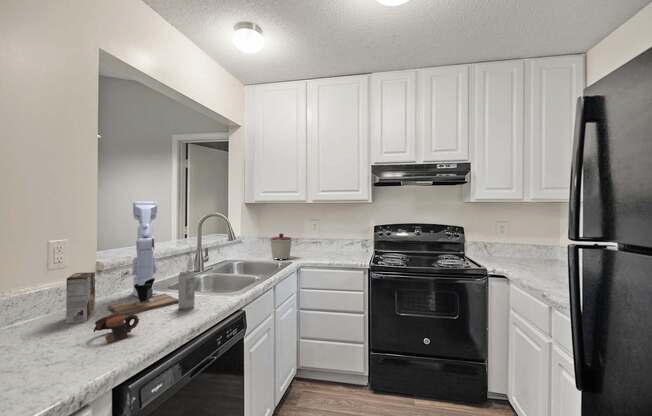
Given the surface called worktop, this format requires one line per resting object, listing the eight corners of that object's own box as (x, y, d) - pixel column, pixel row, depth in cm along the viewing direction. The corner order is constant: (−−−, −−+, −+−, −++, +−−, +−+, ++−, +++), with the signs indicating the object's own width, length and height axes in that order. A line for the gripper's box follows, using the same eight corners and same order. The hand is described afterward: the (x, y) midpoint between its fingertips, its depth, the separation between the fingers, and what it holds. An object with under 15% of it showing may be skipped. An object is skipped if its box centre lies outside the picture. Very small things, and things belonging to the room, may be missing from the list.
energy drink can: (187, 304, 128) (188, 269, 128) (197, 306, 125) (198, 270, 125) (175, 308, 123) (175, 271, 123) (185, 311, 120) (185, 273, 120)
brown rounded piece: (95, 348, 88) (88, 321, 91) (101, 350, 96) (95, 325, 98) (141, 329, 95) (134, 304, 97) (144, 333, 103) (137, 309, 105)
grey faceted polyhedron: (154, 296, 129) (154, 287, 129) (144, 300, 123) (145, 290, 123) (144, 296, 130) (145, 286, 130) (134, 299, 124) (134, 290, 124)
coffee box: (74, 315, 114) (75, 272, 114) (95, 313, 117) (95, 271, 117) (65, 324, 106) (65, 278, 106) (87, 321, 108) (88, 276, 108)
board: (108, 307, 123) (108, 302, 123) (164, 296, 140) (165, 291, 140) (120, 316, 113) (120, 310, 113) (179, 302, 130) (179, 297, 130)
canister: (266, 260, 238) (266, 234, 238) (274, 257, 256) (275, 232, 256) (287, 261, 234) (287, 234, 234) (295, 258, 252) (295, 232, 252)
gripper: (138, 263, 132) (138, 294, 132) (129, 270, 118) (129, 304, 118) (156, 262, 134) (156, 293, 134) (150, 268, 121) (149, 302, 121)
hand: (144, 298), depth 127 cm, fingers open, 7 cm apart
